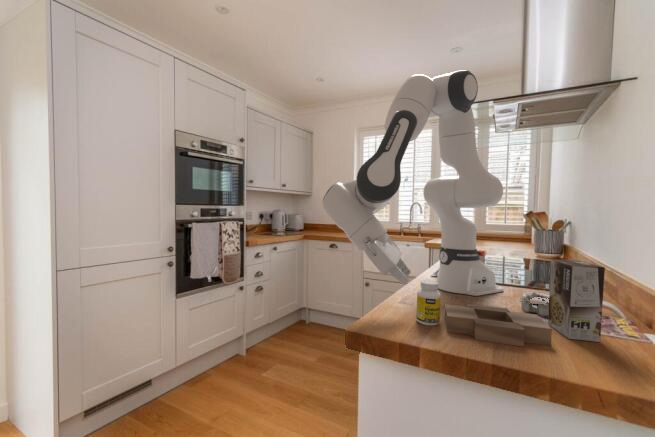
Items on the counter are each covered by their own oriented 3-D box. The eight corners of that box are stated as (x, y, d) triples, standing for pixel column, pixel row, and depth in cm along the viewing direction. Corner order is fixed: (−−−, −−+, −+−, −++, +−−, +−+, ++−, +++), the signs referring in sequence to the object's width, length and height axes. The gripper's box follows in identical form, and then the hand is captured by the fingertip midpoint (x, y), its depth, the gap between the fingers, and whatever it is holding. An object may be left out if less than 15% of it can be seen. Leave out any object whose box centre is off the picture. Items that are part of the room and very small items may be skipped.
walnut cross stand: (443, 314, 80) (444, 301, 79) (532, 325, 73) (533, 311, 73) (447, 335, 66) (447, 319, 66) (555, 351, 60) (556, 333, 60)
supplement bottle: (423, 327, 71) (425, 285, 70) (412, 318, 76) (413, 279, 76) (444, 325, 72) (446, 284, 72) (431, 317, 77) (432, 279, 77)
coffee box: (602, 342, 65) (606, 267, 64) (567, 339, 66) (571, 265, 65) (576, 326, 74) (580, 260, 73) (546, 323, 75) (550, 258, 74)
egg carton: (547, 318, 79) (548, 303, 79) (516, 310, 85) (517, 295, 85) (563, 311, 85) (564, 296, 85) (533, 303, 92) (533, 290, 91)
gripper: (371, 231, 67) (416, 279, 65) (384, 226, 87) (418, 263, 84) (351, 249, 69) (394, 297, 66) (368, 240, 88) (401, 277, 86)
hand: (407, 278), depth 75 cm, fingers open, 8 cm apart
